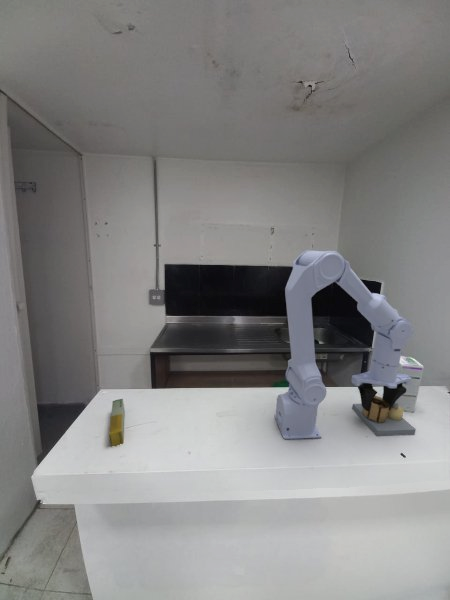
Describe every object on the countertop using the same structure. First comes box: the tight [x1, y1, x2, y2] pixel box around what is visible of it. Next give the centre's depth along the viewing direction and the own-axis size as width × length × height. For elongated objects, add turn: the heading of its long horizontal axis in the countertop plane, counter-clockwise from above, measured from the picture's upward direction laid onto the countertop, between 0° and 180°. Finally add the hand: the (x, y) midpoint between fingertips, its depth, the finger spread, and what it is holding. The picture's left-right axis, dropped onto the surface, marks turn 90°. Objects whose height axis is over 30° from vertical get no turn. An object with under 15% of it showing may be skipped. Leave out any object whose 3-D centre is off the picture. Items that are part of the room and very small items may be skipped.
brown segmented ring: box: [362, 395, 390, 422], centre depth 61 cm, size 5×5×4 cm
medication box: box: [109, 398, 126, 447], centre depth 57 cm, size 12×3×4 cm, turn 22°
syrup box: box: [395, 355, 425, 413], centre depth 67 cm, size 6×6×14 cm
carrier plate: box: [351, 403, 417, 437], centre depth 62 cm, size 10×10×5 cm
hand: (375, 408), depth 61 cm, fingers closed on brown segmented ring, 5 cm apart
